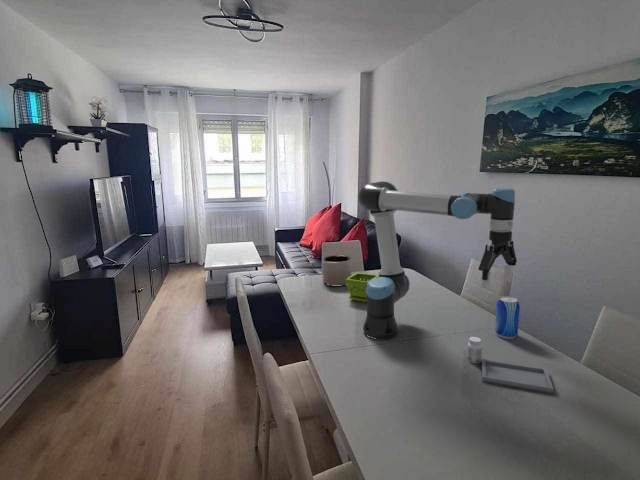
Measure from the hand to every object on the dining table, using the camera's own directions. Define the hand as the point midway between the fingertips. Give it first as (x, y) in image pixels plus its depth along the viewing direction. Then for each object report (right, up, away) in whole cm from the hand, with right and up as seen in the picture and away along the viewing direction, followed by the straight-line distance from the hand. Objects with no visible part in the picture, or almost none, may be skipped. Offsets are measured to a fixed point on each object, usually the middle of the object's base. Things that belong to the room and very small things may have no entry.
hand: (496, 284), depth 138 cm
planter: (-57, -10, +87) cm, 105 cm away
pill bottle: (-11, -27, -6) cm, 30 cm away
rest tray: (-3, -29, -17) cm, 34 cm away
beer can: (+9, -23, +12) cm, 27 cm away
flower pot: (-45, -15, +58) cm, 75 cm away
